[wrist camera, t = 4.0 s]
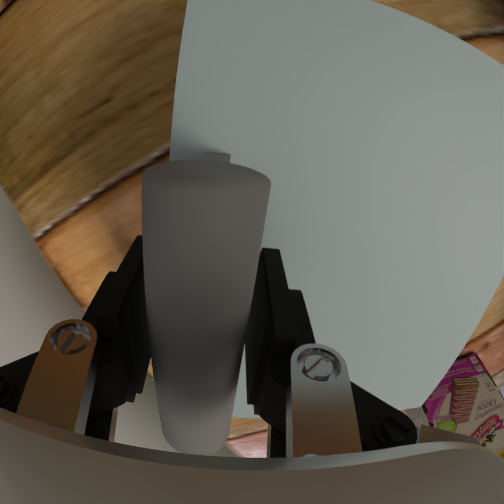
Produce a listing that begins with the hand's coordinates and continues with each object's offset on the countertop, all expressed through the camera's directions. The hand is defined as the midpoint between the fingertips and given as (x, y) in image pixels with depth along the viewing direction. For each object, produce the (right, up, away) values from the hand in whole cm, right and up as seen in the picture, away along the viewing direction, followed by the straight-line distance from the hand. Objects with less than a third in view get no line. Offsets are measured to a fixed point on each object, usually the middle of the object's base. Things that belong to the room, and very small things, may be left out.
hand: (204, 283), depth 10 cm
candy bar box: (+25, -14, +23) cm, 37 cm away
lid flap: (+6, 0, +2) cm, 7 cm away
